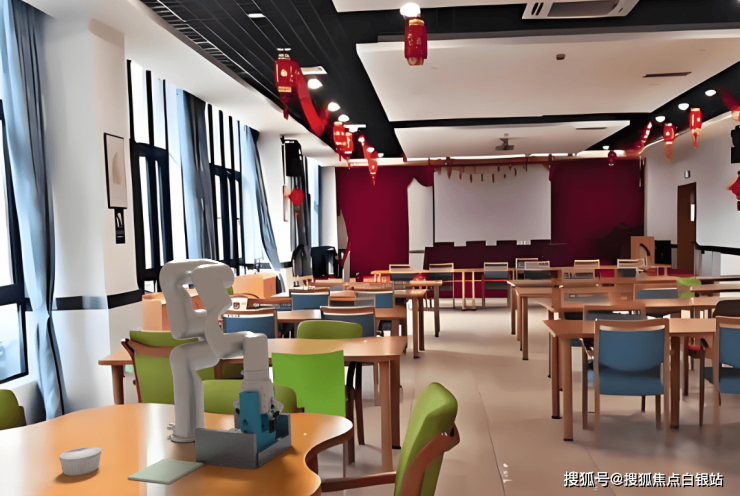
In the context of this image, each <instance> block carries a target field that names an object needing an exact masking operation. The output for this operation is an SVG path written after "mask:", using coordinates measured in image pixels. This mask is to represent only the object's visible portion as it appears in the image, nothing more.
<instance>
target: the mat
mask: <svg viewBox="0 0 740 496" xmlns="http://www.w3.org/2000/svg"><path fill="white" fill-rule="evenodd" d="M203 465H204V464H203V463H198V462H196V461H195V462H194V461H187V460H177V459H170V458H162V459H160V460H159V461H156V462H154V463H153V464H151V465H149V466H147V467H145V468H143V469H140V470H138V471H137V472H135V473H133V474H131V475H128V476H127V480H134V481H140V482H148V483H158V484H164V485H165V484H167V485H169V484H171V483H173V482H175V481H177V480H178V479H180V478H182V477H184V476H186V475H188V474H189V473H191V472H193V471H195V470H196V469H198V468H200V467H202V466H203Z"/></svg>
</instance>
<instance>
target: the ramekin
mask: <svg viewBox="0 0 740 496" xmlns="http://www.w3.org/2000/svg"><path fill="white" fill-rule="evenodd" d="M101 454H102V449H101V448H100V447H96V446H87V447H77V448H73V449H69V450H66V451H64V452H62V453H61V454H60V455H58V457H59V458H58V459H59V461H60V465H61V469H62V474H65V475H66V476H68V477H69V476H70V477H74V476H83V475H86V474H90V473H93V472H95V471H96V470H97V469H98V468H99V466H100V461H101Z"/></svg>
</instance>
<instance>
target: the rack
mask: <svg viewBox="0 0 740 496" xmlns="http://www.w3.org/2000/svg"><path fill="white" fill-rule="evenodd" d="M233 419H234V422H233V423H234V428H236V429H240V418H239V416H238V414H237V413H236V411H235V410H234V411H233ZM291 419H292V418H291V413H284V412H281V414H280V415H279V416H278V417H277V429H276V435H275V441H273V442H272V443H270V444H268V445H267V446H265V447H263V448H262V449H260V450H258V451H257V444H256V433H253V432H242V431H230V430H229V429H228V430H227V429H218V428H217V429H216V428H207V427H205V428H197V429H195V441H194V442H195V443H194V444H195V462H198V463H203V465H211V466H221V467H230V468H239V469H247V470H256V469H257V468H261V467H262V466H264V465H265V464H267V463H269V462H270V461H271V460H273V459H274V458H276V457H278V455H280V454H282V453H284V452H285V451H286V450H288V449H289V448H291V446H292V428H291V427H292V426H291V423H292V421H291Z"/></svg>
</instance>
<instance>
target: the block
mask: <svg viewBox="0 0 740 496" xmlns="http://www.w3.org/2000/svg"><path fill="white" fill-rule="evenodd" d="M273 390H274V399H276V396H275V395H276V393H275V390H276V388H275V385H273ZM238 399H239V406H240V429H241V431H242V432H253V433H256V444H257V451H258V450H260V449H262V448H263V447H265V446H267V445H268V444H270V443H272V442H273V441H275V435H276V431H275V432H273V433H269V420H270V418H269V416H268V415H267V414H259V392H249V391H243V392H240V391H239V393H238ZM274 410H275V411H276V407H275V408H274Z"/></svg>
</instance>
